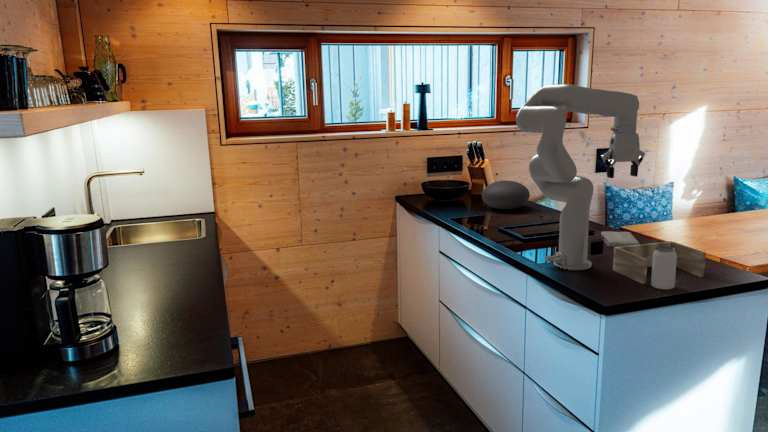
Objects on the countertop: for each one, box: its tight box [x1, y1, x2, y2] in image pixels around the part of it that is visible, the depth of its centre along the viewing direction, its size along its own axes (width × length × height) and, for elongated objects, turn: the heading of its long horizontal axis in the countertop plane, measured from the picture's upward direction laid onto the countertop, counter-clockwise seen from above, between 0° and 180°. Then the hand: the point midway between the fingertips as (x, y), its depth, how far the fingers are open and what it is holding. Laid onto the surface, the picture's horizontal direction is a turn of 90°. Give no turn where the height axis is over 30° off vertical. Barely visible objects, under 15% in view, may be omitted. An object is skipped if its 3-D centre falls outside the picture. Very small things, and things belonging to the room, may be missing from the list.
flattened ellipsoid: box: [481, 179, 531, 210], centre depth 291 cm, size 25×25×15 cm
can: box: [650, 247, 677, 291], centre depth 169 cm, size 6×6×12 cm
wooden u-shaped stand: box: [612, 240, 707, 285], centre depth 182 cm, size 22×15×8 cm
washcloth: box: [600, 230, 640, 248], centre depth 223 cm, size 12×18×3 cm, turn 170°
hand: (622, 176), depth 203 cm, fingers open, 9 cm apart
